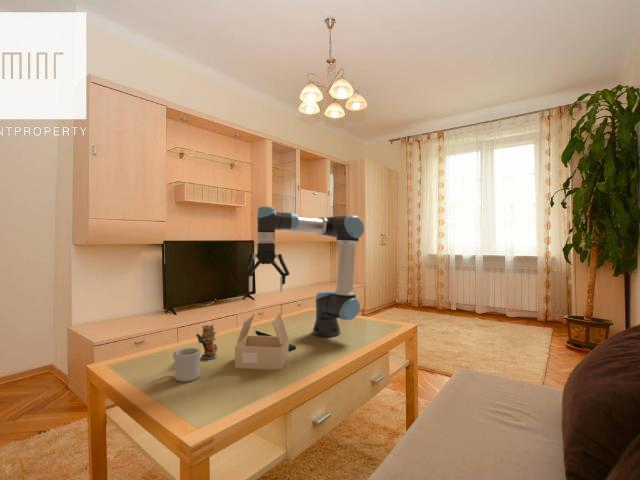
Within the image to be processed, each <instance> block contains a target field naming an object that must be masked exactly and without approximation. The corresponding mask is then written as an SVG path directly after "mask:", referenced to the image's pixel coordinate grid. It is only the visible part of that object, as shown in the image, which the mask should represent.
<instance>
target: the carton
mask: <svg viewBox="0 0 640 480" xmlns="http://www.w3.org/2000/svg"><path fill="white" fill-rule="evenodd" d="M288 344H289V336H287V337H286V339H285V341H284V342H283V344H282V345H280V343H279V340H278V337H277V335H275V336H274V335H272V336H257V335H250V334H247V336H245V337H244V338H243V339H242V340H241V341H240V342H239V343H238V344H237V343H236V345H235V346H234V369H243V370H246V369H247V370H261V371H262V370H263V371H265V370H266V371H283V369H284V367H285V364H286V363H287V360H288V358H289V351H288ZM283 366H284V367H283ZM282 368H283V369H282Z"/></svg>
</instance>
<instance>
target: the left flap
mask: <svg viewBox="0 0 640 480" xmlns="http://www.w3.org/2000/svg"><path fill="white" fill-rule="evenodd" d="M255 314H256V313H252V314H251V315H250V316H249V317H247V318H246V319H245V320H244V322H243V325H242V327H241V330H240V333H239V335H238V337H237V341H236V345H237V344H238V343H239V342H240V341H241V340H242V339H243V338H244V337H245V336H247V335H249V332H250V330H251V329H250V328H251V326H252V323H253V321H254V317H255Z"/></svg>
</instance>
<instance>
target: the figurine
mask: <svg viewBox="0 0 640 480" xmlns="http://www.w3.org/2000/svg"><path fill="white" fill-rule="evenodd" d="M202 328H203V329H202V334H198V333H196V337H197V340H198V343H199V344H201V345H202V346H203V350H204V354H203V353H202V355H201V356H200V359H201V360H207V361H208V360H214V359H215V360H216V358H217V357H218V354H217V352H218V346H217V344H216V343H214V341H216V340H217V338H215V335H216V334H217V333H218V332H217V331H215V327H214V324H206V325H202Z"/></svg>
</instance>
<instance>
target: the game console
mask: <svg viewBox="0 0 640 480" xmlns="http://www.w3.org/2000/svg"><path fill="white" fill-rule="evenodd" d="M254 332H255V334H256V336H273V335H272V334H268V333H265V332H262V331H259V330H255V331H254ZM296 349H297V345H295V344H294V345H293V344H291V343H288V352H291V351H294V350H296Z"/></svg>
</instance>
